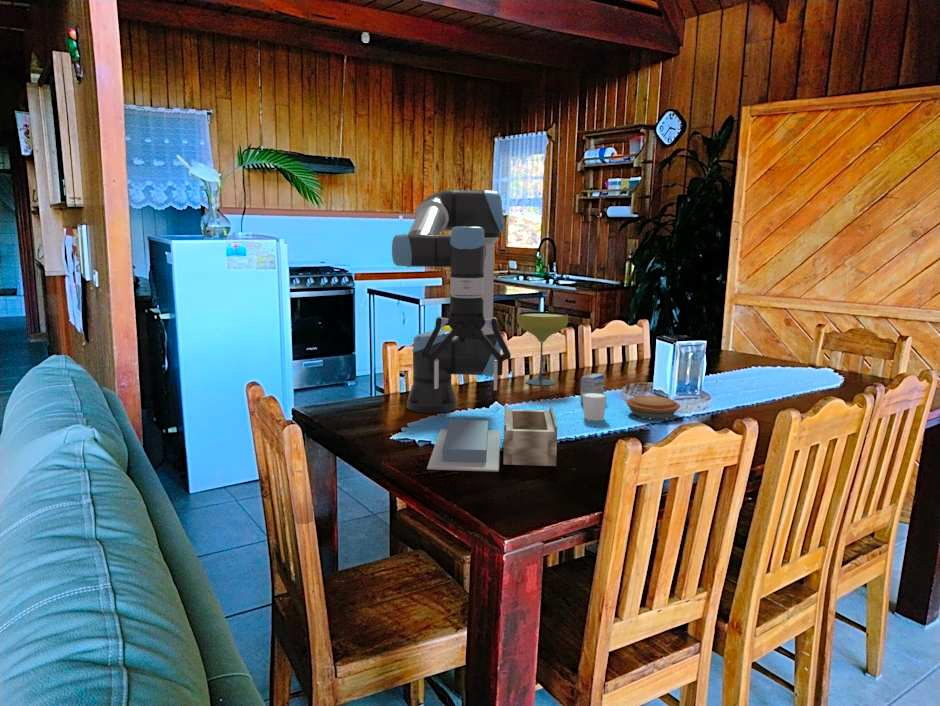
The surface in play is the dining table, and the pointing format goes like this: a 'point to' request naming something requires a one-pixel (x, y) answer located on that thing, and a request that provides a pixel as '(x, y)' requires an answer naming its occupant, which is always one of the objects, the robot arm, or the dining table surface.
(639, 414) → the pie
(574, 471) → the dining table surface
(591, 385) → the medicine box
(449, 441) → the pale grey block
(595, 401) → the white cup
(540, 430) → the wooden box
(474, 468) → the mat
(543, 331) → the cocktail glass
